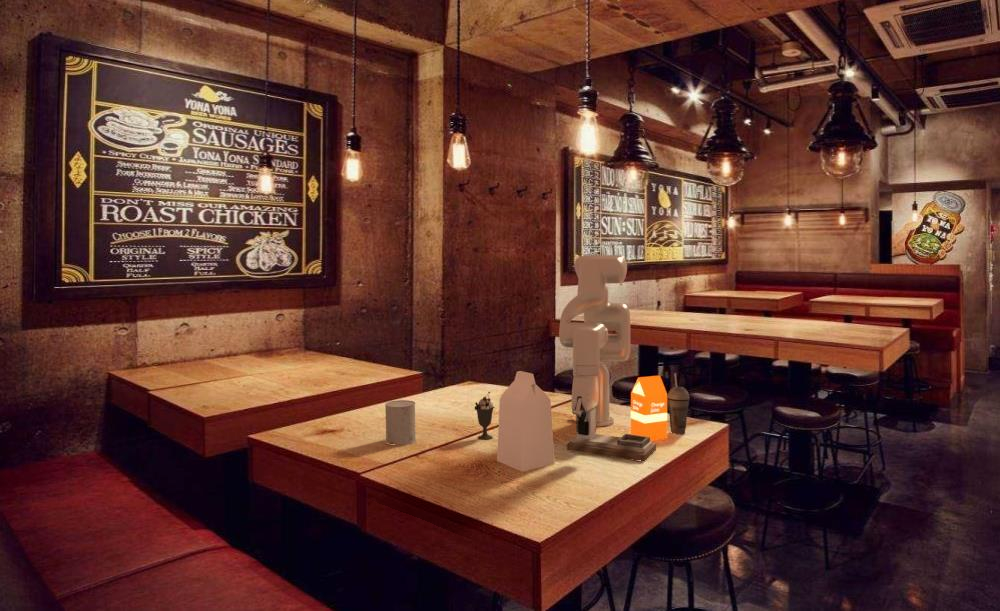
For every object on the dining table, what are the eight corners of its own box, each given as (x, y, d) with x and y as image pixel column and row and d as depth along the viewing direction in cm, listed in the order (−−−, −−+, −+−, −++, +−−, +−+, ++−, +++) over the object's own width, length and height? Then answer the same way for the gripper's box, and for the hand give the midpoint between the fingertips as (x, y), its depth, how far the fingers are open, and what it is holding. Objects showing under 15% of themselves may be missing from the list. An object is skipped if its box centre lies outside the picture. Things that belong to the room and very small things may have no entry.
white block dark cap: (575, 437, 182) (575, 409, 182) (581, 433, 186) (581, 406, 185) (590, 439, 180) (590, 411, 179) (595, 435, 184) (595, 408, 183)
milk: (554, 463, 181) (554, 373, 179) (522, 471, 174) (521, 378, 172) (528, 453, 191) (528, 367, 189) (497, 460, 184) (496, 371, 182)
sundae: (498, 435, 210) (497, 390, 208) (491, 441, 203) (490, 395, 202) (479, 434, 212) (478, 389, 211) (471, 439, 205) (471, 393, 204)
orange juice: (630, 435, 208) (630, 375, 207) (652, 432, 212) (653, 373, 210) (644, 442, 201) (645, 379, 199) (667, 438, 204) (668, 377, 203)
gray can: (391, 447, 198) (390, 408, 197) (382, 439, 206) (381, 402, 205) (420, 442, 202) (419, 404, 201) (410, 435, 211) (409, 399, 210)
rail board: (566, 450, 193) (566, 413, 192) (581, 440, 204) (581, 405, 203) (644, 461, 182) (644, 423, 181) (655, 450, 192) (656, 414, 191)
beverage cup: (690, 436, 207) (691, 375, 206) (667, 435, 209) (668, 374, 207) (688, 430, 214) (689, 371, 213) (666, 429, 216) (666, 371, 214)
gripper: (584, 363, 190) (584, 423, 192) (562, 374, 176) (562, 438, 177) (608, 365, 186) (608, 426, 188) (587, 376, 172) (587, 442, 174)
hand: (586, 431), depth 183 cm, fingers closed on white block dark cap, 4 cm apart
